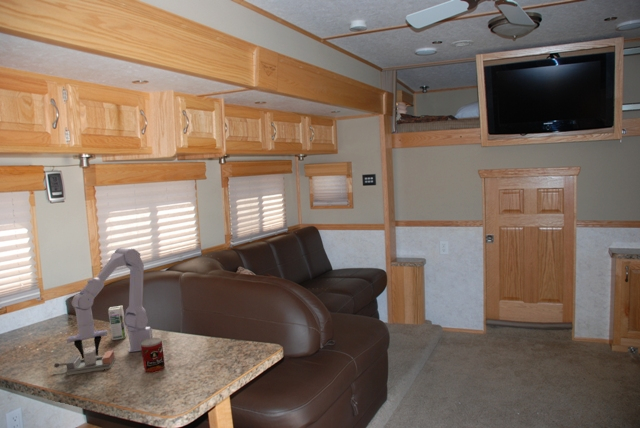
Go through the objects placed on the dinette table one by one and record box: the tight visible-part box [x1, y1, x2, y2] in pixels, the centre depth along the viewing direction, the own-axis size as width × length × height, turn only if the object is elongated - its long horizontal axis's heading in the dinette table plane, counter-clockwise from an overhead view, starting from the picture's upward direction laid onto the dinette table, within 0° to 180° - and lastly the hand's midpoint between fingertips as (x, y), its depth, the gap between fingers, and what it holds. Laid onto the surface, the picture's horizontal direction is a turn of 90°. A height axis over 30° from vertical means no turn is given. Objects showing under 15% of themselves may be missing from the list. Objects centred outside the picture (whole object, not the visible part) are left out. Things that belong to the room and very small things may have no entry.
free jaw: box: [102, 349, 116, 365], centre depth 203 cm, size 3×8×3 cm, turn 10°
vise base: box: [53, 354, 116, 376], centre depth 201 cm, size 22×10×4 cm, turn 100°
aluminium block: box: [83, 345, 98, 367], centre depth 201 cm, size 4×7×6 cm, turn 21°
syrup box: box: [107, 305, 127, 341], centre depth 234 cm, size 6×6×14 cm
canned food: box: [141, 337, 166, 374], centre depth 194 cm, size 8×8×11 cm
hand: (90, 356), depth 201 cm, fingers open, 4 cm apart
